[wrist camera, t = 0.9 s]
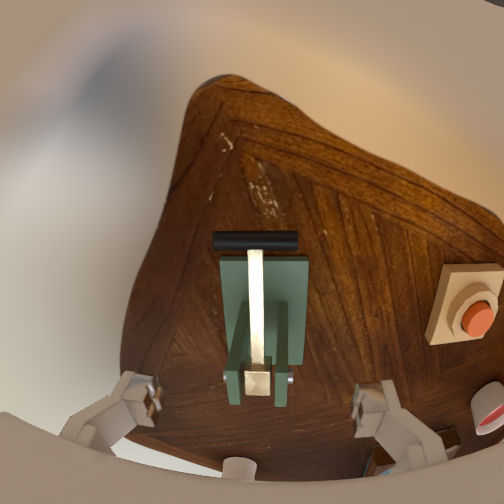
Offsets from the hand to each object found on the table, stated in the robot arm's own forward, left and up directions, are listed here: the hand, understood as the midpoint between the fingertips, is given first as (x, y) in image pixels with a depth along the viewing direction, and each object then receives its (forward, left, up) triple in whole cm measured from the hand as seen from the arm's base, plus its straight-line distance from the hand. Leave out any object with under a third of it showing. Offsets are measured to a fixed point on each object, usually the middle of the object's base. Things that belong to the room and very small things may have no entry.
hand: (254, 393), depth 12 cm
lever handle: (+5, -1, -13) cm, 14 cm away
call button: (+9, +24, -21) cm, 33 cm away
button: (+9, +24, -17) cm, 31 cm away
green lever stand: (+10, -1, -21) cm, 23 cm away
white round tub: (+30, +39, -21) cm, 53 cm away
